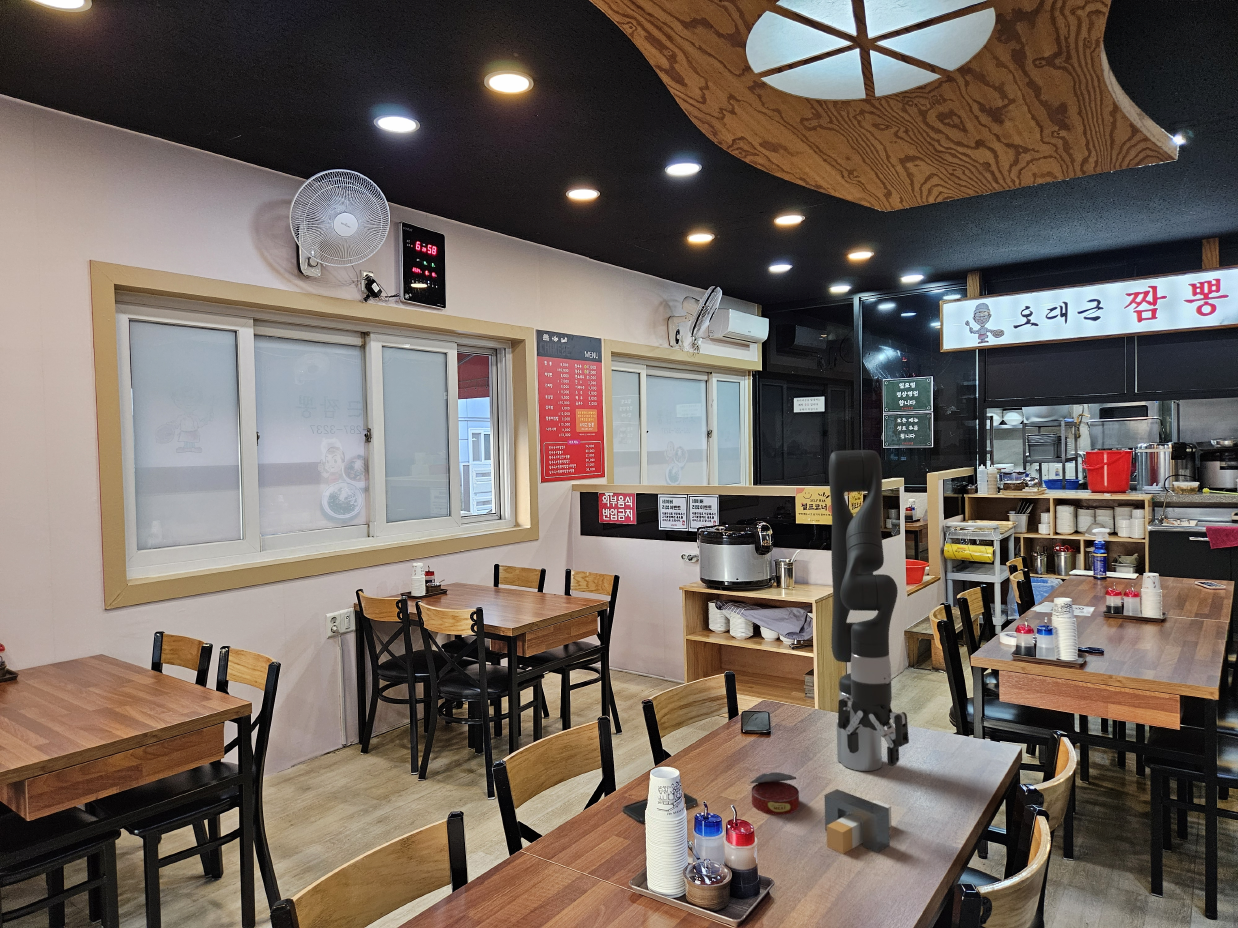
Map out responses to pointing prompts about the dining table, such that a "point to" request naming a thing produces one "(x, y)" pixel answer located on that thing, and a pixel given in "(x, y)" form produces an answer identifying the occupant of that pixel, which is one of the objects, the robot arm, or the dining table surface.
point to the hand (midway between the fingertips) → (872, 758)
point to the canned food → (775, 794)
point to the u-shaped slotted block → (870, 812)
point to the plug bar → (848, 831)
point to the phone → (638, 808)
